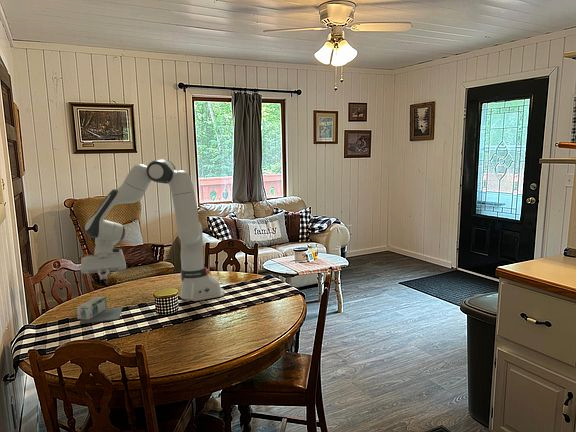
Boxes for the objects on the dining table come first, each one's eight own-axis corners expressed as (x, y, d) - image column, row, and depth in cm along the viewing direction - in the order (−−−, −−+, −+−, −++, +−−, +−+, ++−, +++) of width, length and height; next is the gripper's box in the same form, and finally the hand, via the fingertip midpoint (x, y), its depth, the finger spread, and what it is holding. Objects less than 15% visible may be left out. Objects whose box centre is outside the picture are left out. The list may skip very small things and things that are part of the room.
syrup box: (107, 308, 202) (89, 319, 187) (96, 308, 202) (76, 319, 188) (106, 296, 201) (87, 307, 187) (95, 296, 202) (75, 307, 188)
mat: (122, 307, 203) (122, 306, 203) (119, 319, 188) (119, 318, 188) (86, 311, 199) (85, 311, 199) (79, 324, 183) (79, 323, 183)
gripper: (80, 252, 206) (78, 277, 198) (124, 248, 212) (125, 272, 204) (82, 259, 211) (80, 284, 203) (126, 255, 217) (126, 279, 209)
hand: (103, 278), depth 204 cm, fingers closed
